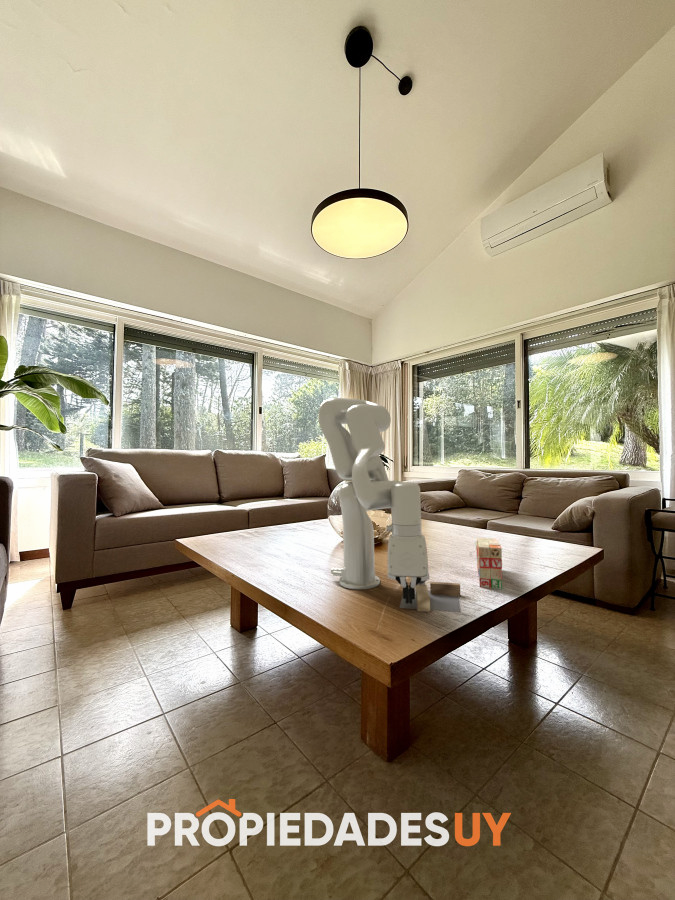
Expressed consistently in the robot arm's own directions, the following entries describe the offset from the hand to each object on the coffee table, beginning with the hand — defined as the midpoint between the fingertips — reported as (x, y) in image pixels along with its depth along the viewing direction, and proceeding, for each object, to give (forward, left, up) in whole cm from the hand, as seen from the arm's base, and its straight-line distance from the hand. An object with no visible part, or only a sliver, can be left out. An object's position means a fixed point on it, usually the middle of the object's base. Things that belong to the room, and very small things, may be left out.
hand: (409, 601), depth 97 cm
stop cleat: (+9, +11, -1) cm, 14 cm away
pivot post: (+3, +8, -1) cm, 8 cm away
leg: (+3, +2, -1) cm, 4 cm away
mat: (+5, +6, -2) cm, 8 cm away
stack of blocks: (+23, +29, -2) cm, 37 cm away
